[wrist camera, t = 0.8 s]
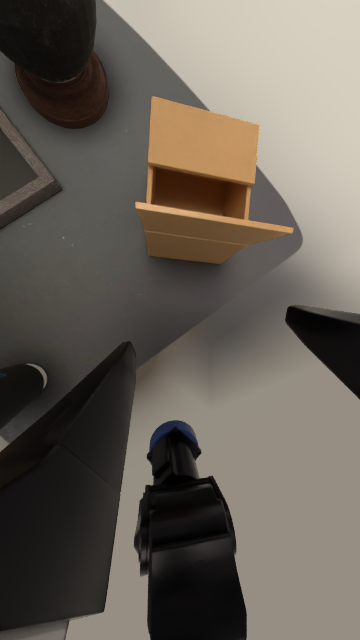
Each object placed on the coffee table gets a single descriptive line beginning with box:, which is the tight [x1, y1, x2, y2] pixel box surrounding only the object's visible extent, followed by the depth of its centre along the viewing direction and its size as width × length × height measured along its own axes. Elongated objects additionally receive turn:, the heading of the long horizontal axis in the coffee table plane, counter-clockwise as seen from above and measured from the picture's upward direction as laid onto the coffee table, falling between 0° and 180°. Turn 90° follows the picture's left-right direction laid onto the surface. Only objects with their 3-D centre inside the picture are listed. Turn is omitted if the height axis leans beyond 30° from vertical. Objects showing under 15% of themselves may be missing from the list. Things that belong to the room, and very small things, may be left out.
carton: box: [145, 96, 259, 264], centre depth 21 cm, size 13×12×8 cm
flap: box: [136, 202, 294, 245], centre depth 14 cm, size 6×12×1 cm
